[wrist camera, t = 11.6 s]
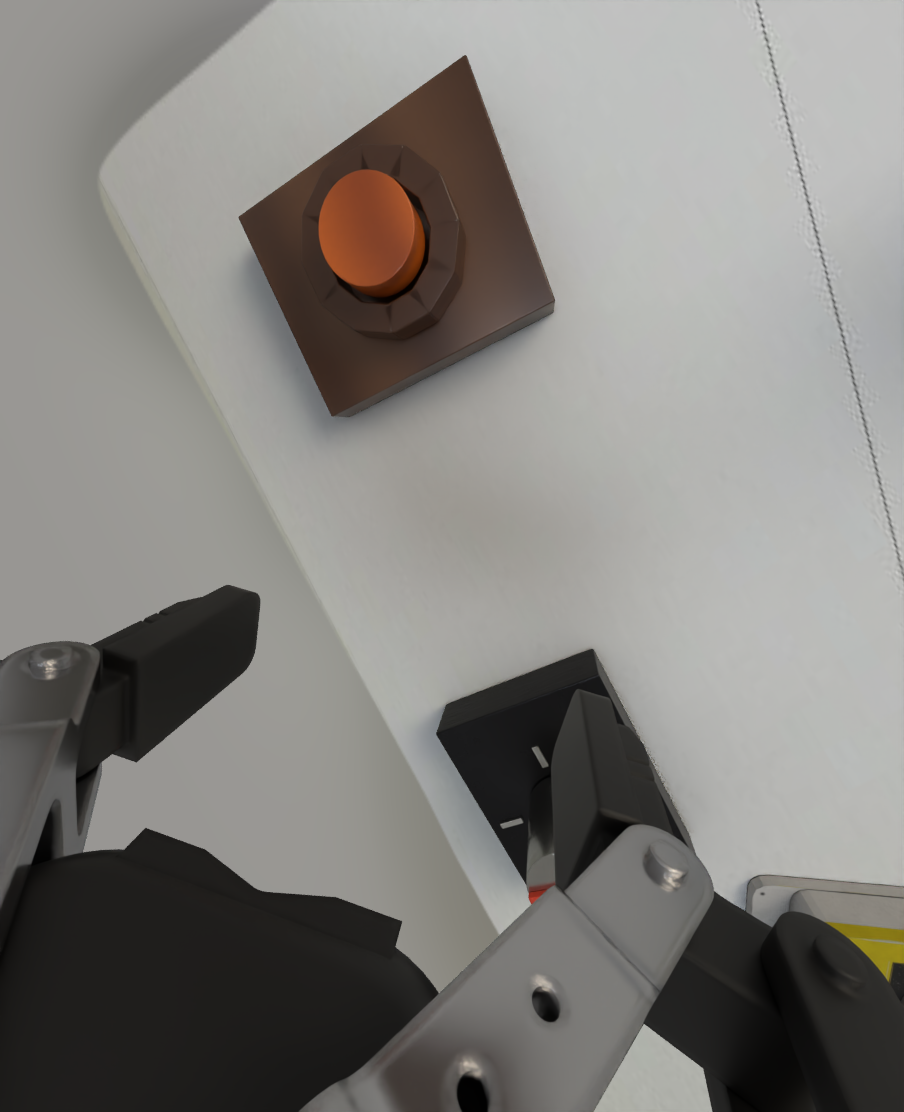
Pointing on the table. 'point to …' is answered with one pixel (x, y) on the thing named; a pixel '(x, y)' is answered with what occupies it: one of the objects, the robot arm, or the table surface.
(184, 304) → the table surface
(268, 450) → the table surface
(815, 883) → the emergency button
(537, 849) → the hob knob
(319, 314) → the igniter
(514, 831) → the panel
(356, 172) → the button
